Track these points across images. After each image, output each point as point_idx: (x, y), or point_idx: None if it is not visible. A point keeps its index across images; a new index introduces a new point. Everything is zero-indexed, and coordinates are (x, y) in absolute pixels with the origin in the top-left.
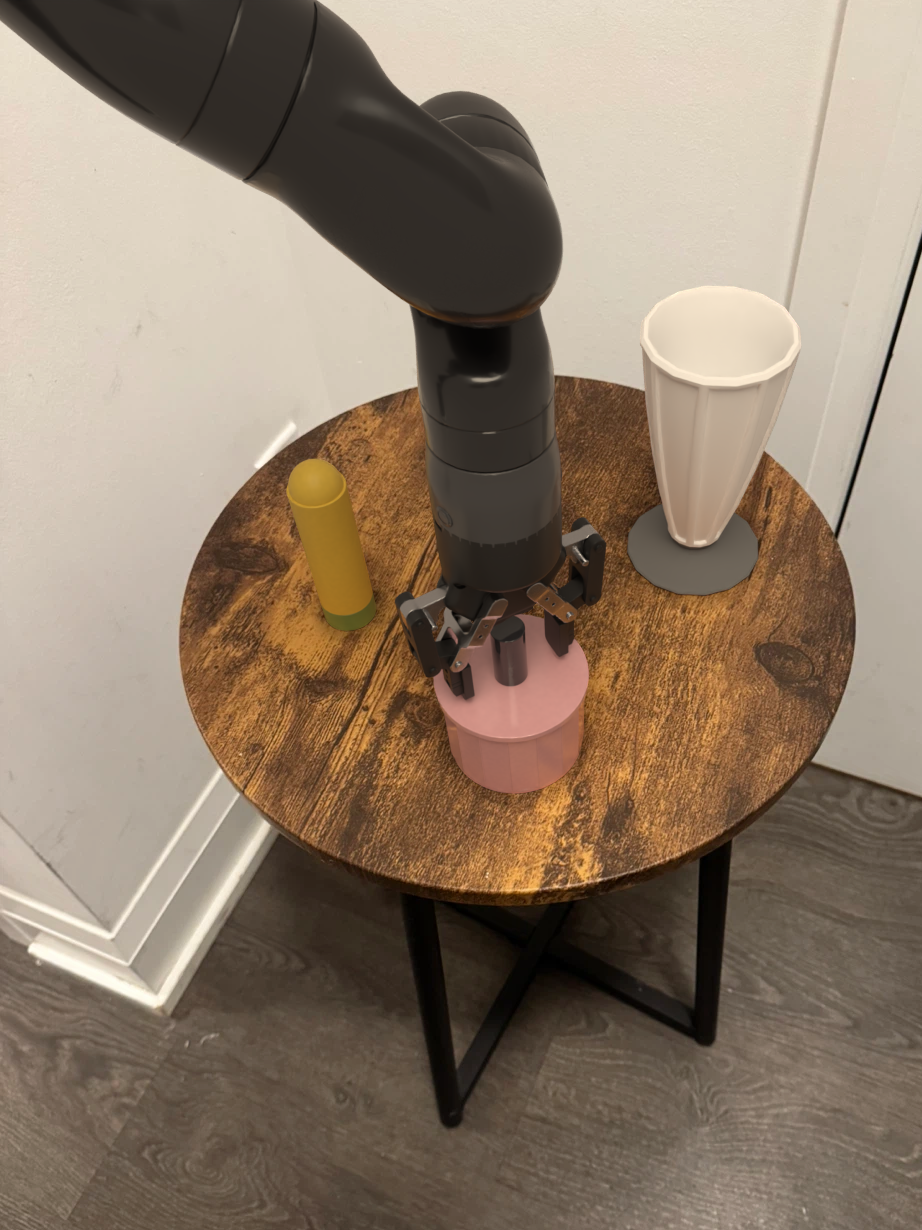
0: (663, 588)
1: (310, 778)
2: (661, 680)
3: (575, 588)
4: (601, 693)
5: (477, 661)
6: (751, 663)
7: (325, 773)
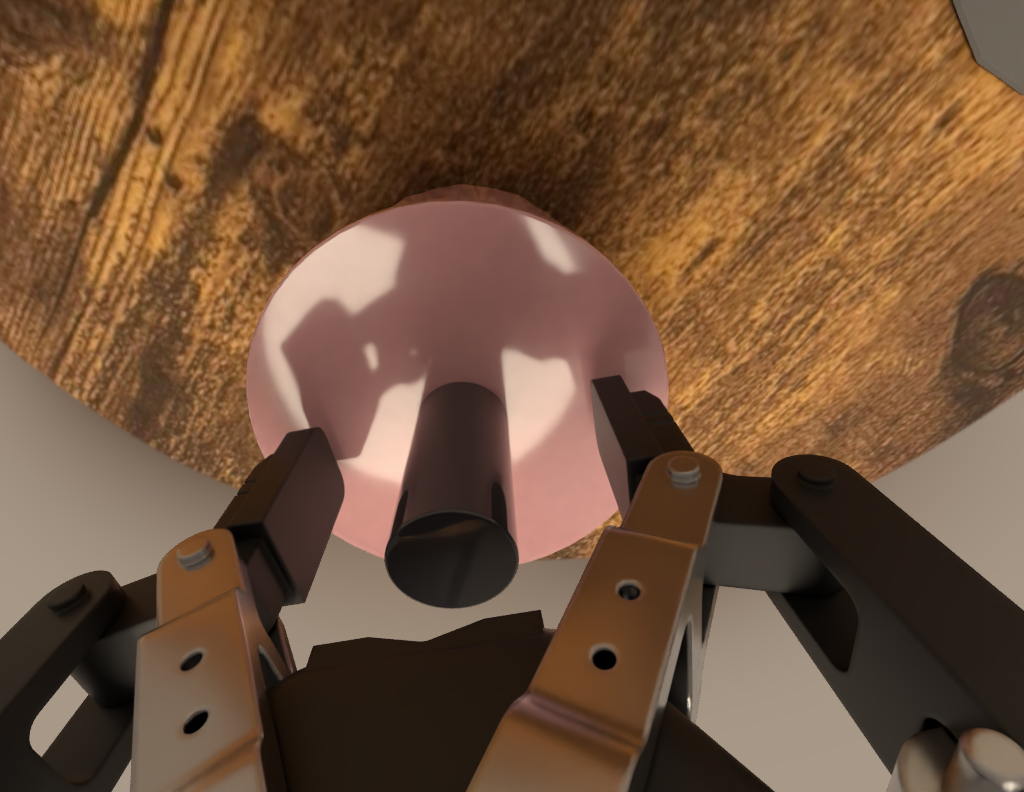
0: (962, 25)
1: (46, 280)
2: (779, 289)
3: (775, 561)
4: (660, 279)
5: (380, 361)
6: (945, 308)
7: (78, 279)
